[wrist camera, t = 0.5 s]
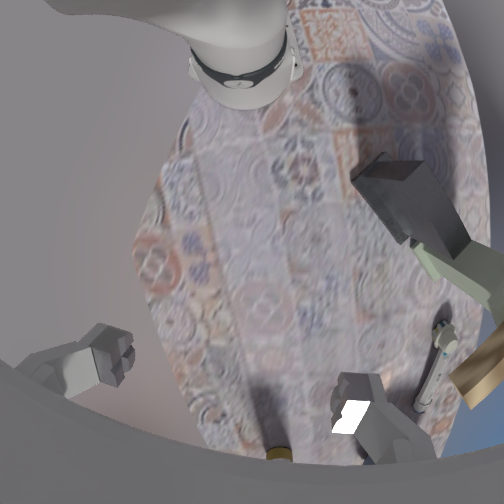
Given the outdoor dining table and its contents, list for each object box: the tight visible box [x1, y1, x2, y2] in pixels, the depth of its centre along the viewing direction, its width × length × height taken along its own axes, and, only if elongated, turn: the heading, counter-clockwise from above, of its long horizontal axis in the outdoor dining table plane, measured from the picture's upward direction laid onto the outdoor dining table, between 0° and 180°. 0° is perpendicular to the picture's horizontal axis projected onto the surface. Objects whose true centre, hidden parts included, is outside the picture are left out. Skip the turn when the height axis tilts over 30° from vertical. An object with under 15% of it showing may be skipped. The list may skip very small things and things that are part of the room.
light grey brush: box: [413, 320, 458, 414], centre depth 54 cm, size 5×7×25 cm
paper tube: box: [266, 447, 293, 463], centre depth 53 cm, size 7×7×25 cm
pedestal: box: [410, 240, 504, 328], centre depth 36 cm, size 10×10×26 cm
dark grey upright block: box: [351, 152, 472, 261], centre depth 39 cm, size 8×14×16 cm, turn 44°
